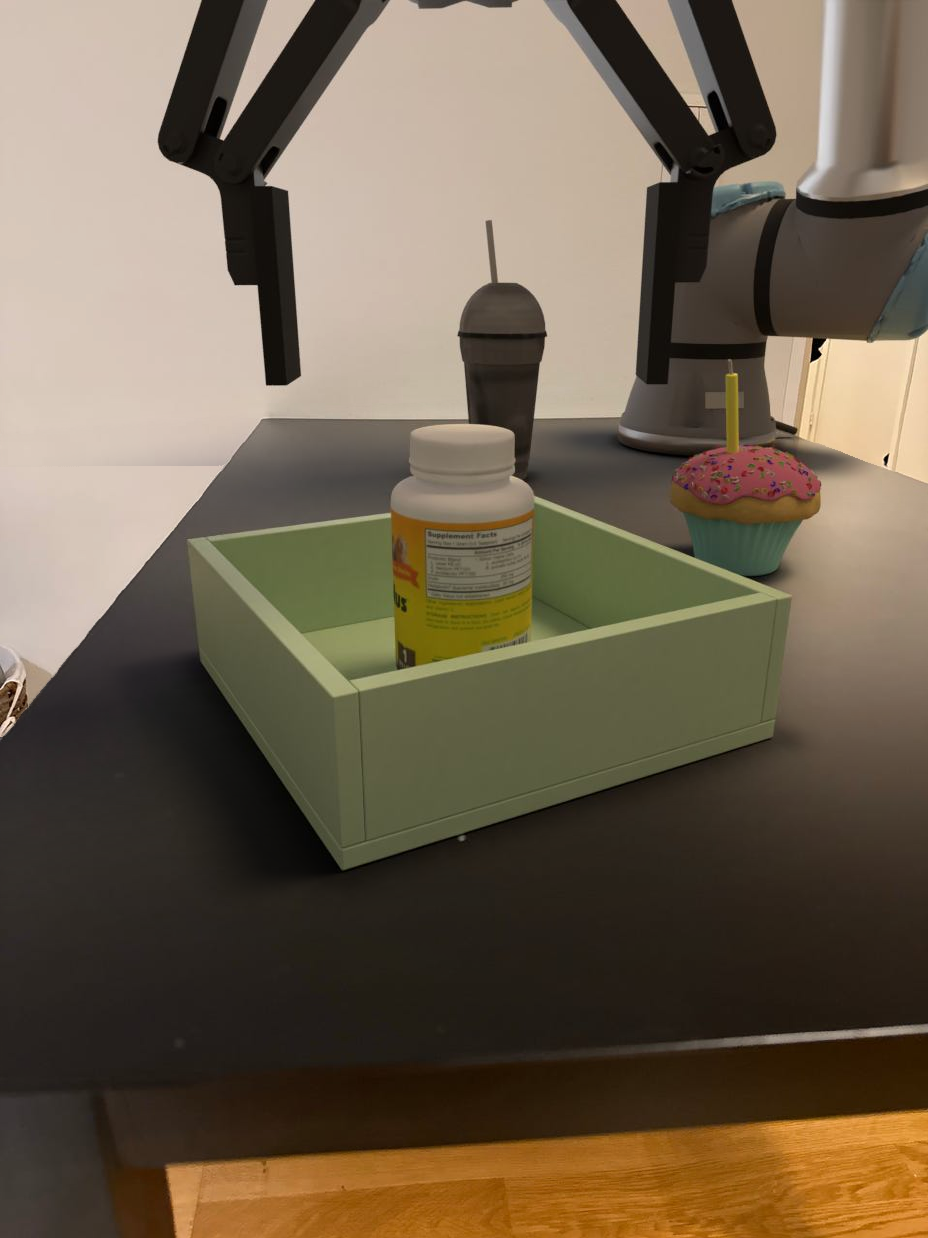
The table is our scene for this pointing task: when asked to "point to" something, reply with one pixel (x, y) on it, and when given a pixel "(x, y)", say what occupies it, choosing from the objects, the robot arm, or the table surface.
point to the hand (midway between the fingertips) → (466, 381)
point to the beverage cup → (503, 357)
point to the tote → (479, 676)
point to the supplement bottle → (461, 546)
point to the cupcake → (743, 499)
